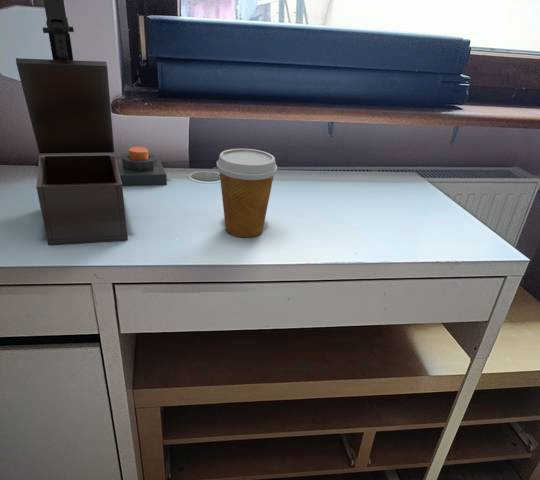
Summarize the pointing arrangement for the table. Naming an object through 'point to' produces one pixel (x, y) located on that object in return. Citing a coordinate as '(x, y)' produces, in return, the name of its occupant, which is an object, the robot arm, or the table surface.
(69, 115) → the grey box lid
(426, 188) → the table surface
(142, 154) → the button
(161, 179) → the block
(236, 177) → the disposable coffee cup
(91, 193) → the dark brown box
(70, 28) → the robot arm
